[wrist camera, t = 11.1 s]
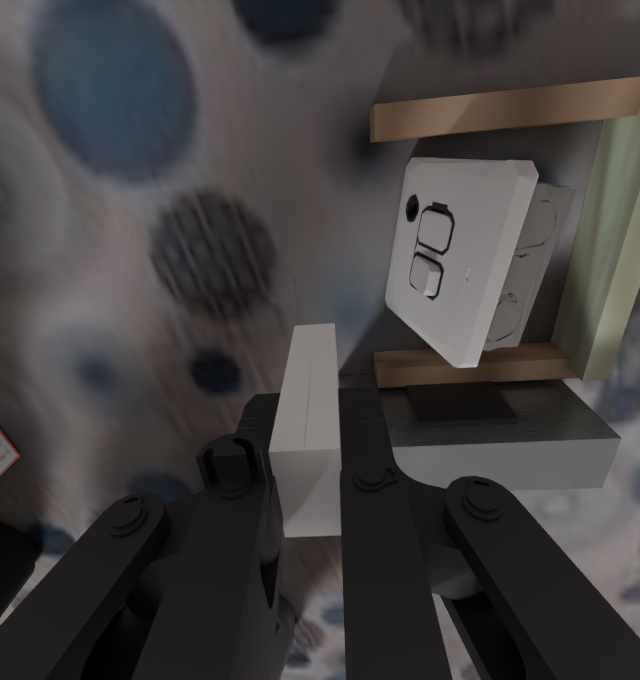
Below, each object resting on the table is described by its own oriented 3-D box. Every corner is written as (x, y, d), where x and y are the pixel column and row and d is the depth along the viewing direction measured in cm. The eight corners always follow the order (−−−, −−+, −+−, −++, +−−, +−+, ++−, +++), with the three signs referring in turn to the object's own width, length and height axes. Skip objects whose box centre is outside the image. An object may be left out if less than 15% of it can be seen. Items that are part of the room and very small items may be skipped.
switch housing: (339, 419, 30) (341, 500, 23) (336, 370, 28) (337, 443, 21) (534, 410, 29) (600, 492, 22) (546, 359, 27) (624, 431, 20)
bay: (374, 369, 28) (380, 400, 24) (369, 110, 20) (378, 99, 16) (568, 359, 27) (604, 389, 23) (643, 82, 19) (715, 64, 15)
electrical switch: (405, 155, 21) (478, 155, 13) (488, 161, 21) (610, 166, 13) (382, 302, 25) (425, 373, 17) (451, 305, 26) (526, 376, 18)
